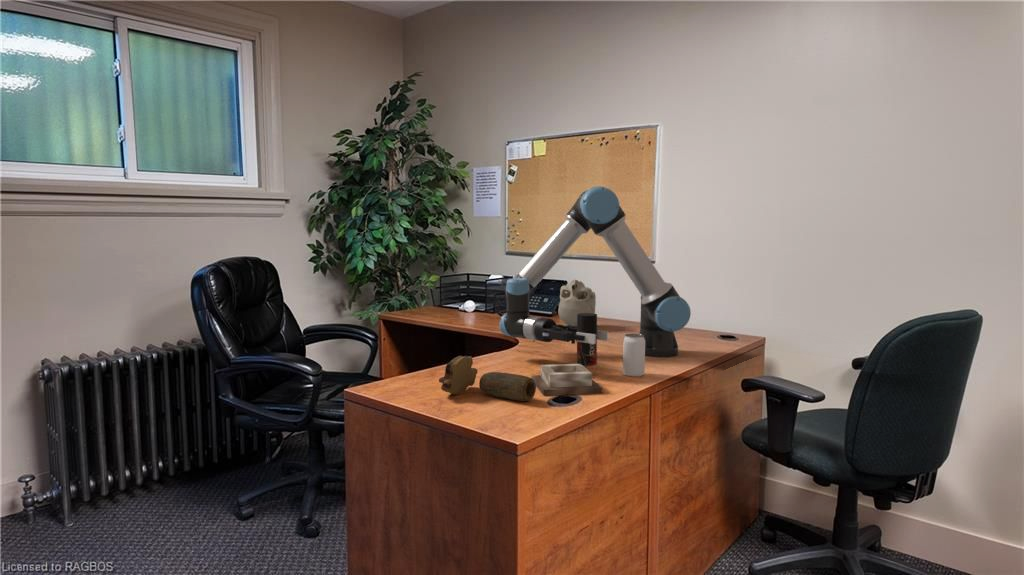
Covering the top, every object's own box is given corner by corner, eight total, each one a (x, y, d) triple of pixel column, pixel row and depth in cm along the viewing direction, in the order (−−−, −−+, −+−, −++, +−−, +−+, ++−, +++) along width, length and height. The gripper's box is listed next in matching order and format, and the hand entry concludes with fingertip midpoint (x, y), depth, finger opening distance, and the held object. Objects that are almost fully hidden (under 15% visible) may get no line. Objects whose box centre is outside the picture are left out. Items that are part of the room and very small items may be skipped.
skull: (565, 324, 280) (566, 276, 278) (598, 326, 274) (599, 277, 272) (553, 330, 262) (553, 279, 259) (587, 332, 256) (588, 280, 254)
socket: (585, 378, 178) (585, 361, 177) (602, 393, 162) (602, 374, 162) (531, 380, 175) (531, 363, 175) (543, 395, 160) (543, 376, 159)
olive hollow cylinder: (539, 399, 157) (539, 374, 156) (525, 406, 151) (525, 379, 150) (490, 390, 164) (490, 366, 164) (475, 396, 159) (475, 371, 158)
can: (644, 377, 180) (645, 337, 179) (622, 376, 181) (623, 336, 180) (644, 372, 186) (645, 333, 185) (622, 371, 187) (623, 333, 186)
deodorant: (585, 360, 187) (585, 312, 186) (600, 363, 183) (601, 314, 181) (572, 363, 183) (573, 314, 181) (588, 366, 179) (588, 316, 177)
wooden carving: (463, 384, 170) (463, 349, 169) (478, 386, 169) (478, 350, 168) (435, 399, 155) (435, 361, 154) (451, 402, 153) (451, 363, 152)
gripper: (558, 336, 201) (618, 345, 186) (521, 345, 187) (582, 355, 172) (558, 314, 201) (619, 321, 185) (521, 321, 187) (582, 329, 171)
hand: (601, 337), depth 179 cm, fingers closed on deodorant, 6 cm apart
